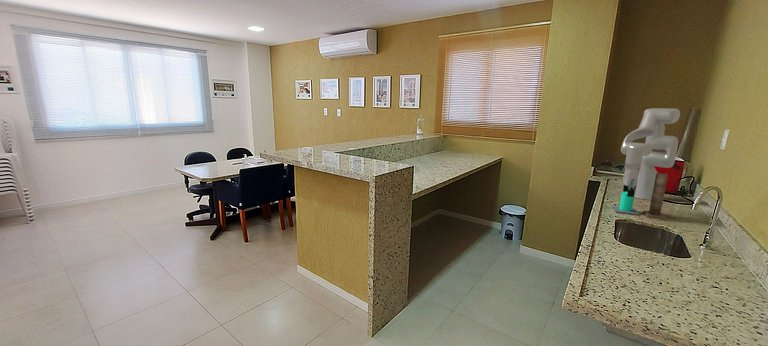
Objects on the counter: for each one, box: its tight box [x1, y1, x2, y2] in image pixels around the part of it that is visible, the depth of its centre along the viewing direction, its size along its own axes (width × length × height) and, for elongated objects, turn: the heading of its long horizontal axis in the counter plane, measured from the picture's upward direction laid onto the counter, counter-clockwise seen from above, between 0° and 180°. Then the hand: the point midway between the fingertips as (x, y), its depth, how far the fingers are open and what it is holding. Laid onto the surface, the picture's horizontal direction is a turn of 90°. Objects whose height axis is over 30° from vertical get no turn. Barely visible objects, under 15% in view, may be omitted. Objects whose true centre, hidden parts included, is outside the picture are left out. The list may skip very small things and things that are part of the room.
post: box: [642, 172, 669, 220], centre depth 178 cm, size 8×8×25 cm
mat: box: [611, 205, 640, 216], centre depth 188 cm, size 11×11×1 cm
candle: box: [619, 191, 635, 211], centre depth 187 cm, size 6×6×12 cm
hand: (628, 194), depth 187 cm, fingers open, 9 cm apart
